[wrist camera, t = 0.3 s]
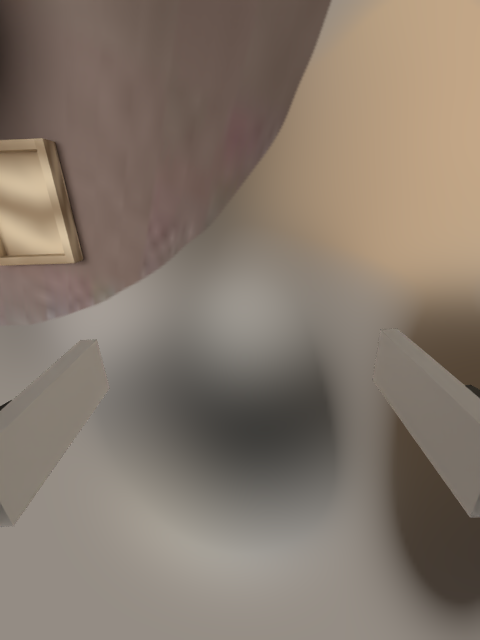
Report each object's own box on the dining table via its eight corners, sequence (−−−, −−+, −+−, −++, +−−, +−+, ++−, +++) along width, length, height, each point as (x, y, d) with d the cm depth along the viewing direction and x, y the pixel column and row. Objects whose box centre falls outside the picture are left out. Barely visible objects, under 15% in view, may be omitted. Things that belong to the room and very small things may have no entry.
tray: (-36, 145, 35) (-54, 142, 32) (54, 142, 34) (42, 138, 32) (5, 262, 40) (-8, 265, 38) (83, 259, 40) (74, 263, 38)
